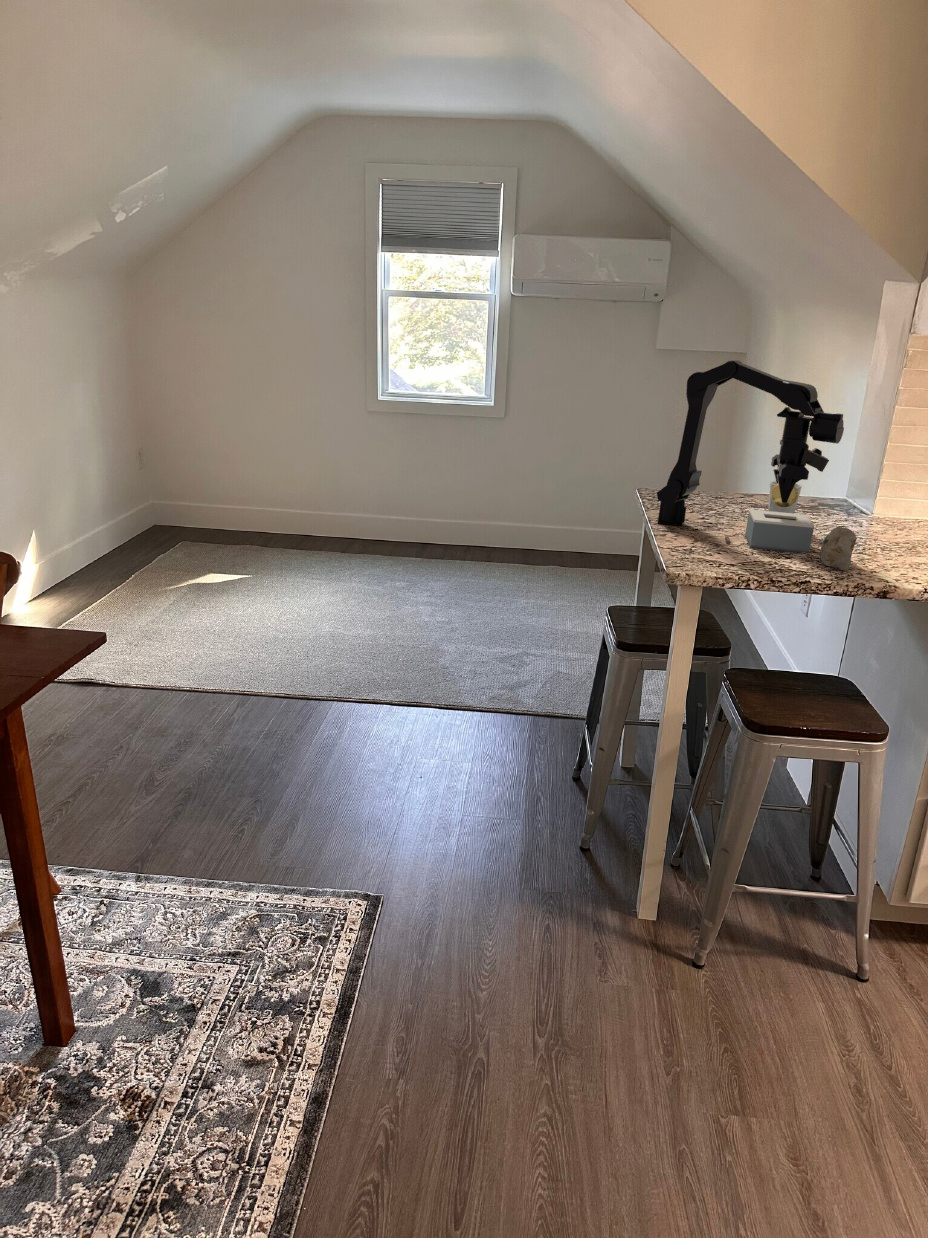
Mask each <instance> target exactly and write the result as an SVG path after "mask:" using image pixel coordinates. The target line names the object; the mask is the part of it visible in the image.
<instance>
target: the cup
mask: <svg viewBox="0 0 928 1238" xmlns="http://www.w3.org/2000/svg"><path fill="white" fill-rule="evenodd" d="M776 484H777V483H776V480H775V481H770V484H769V497H768V505H767V511H772V512H783V513H793V514H796V513H795V512H796V509H797V505H798V501H799V498H800V495H801V490H802V485H801V484H799V483H796V484H795V485H794V486H795V487H796V489H797V491H798V497H797V500H796V501H795V503H794V504H792V505H791V506H789V507H780V506H778V505H776V504H775V503H774V501H773V500H772V498H771V491H772V488H773V487H774V486H775V485H776Z"/></svg>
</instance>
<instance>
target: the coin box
mask: <svg viewBox="0 0 928 1238" xmlns="http://www.w3.org/2000/svg"><path fill="white" fill-rule="evenodd" d="M814 530H815V524H814V523H813V522H812V520H811V518H809V516H808V515H807V514H804V513H803V514H802V513H794V514H793V513H783V512H772V511H768V510H759V509H749V511H748V516H747V521H746V527H745V534H744V537H745V539H746V542H747V544H748V545H749V548H750V549H751V548H752V549H761V550H762V549H763V550H771V551H779V552H781V551H782V552H790V553H791V552H793V553H800V552H805V553H804V554H810V551H811V545H812V542H813V541H812V540H813V534H814Z"/></svg>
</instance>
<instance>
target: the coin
mask: <svg viewBox="0 0 928 1238" xmlns="http://www.w3.org/2000/svg"><path fill="white" fill-rule="evenodd" d="M797 497H798V491H797V489H796V487H795V486H794V488H793V490H792V492H791V494H790V496H789V498H788V501H787V503H783V502H782V500H781V495H780V490H779V484H778V483H777V484H776V485H775V486H774V487H773V488H772V491H771V498H772V500H773V501H774V503H775V504H776V505H778V506H780V507H789V506H791V505H792V504H794V503H795V501H796V500H797Z"/></svg>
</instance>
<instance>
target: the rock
mask: <svg viewBox="0 0 928 1238" xmlns="http://www.w3.org/2000/svg"><path fill="white" fill-rule="evenodd" d="M857 540H858V539H857V534H856V533H855V532H854V531H852V529H850V528H849V527H848V528H847V527H842V526H836V527H834V528H833V529H831V530H830V532H829V533H827V535H826V536H825V537H824V540H823V542H822V543H821V546H820V561H821V562H822V563H823V565H825V566H828V567H830V568H835V569H836V570H838V569H839V571H841V570H844V571H848V570H849V569H850V567H851V565H852V563H851V562H852V556H853V554H852V553H853V551H854V548H855V545H856V542H857Z"/></svg>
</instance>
